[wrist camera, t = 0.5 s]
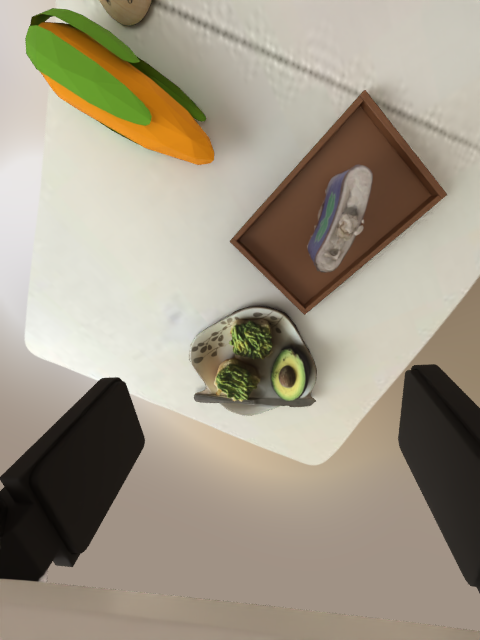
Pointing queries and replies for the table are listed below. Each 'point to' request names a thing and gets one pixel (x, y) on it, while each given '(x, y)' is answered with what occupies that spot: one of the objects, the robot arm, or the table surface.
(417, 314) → the table surface
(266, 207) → the tray
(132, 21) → the ladybug figurine
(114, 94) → the corn
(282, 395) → the avocado toast plate
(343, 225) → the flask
